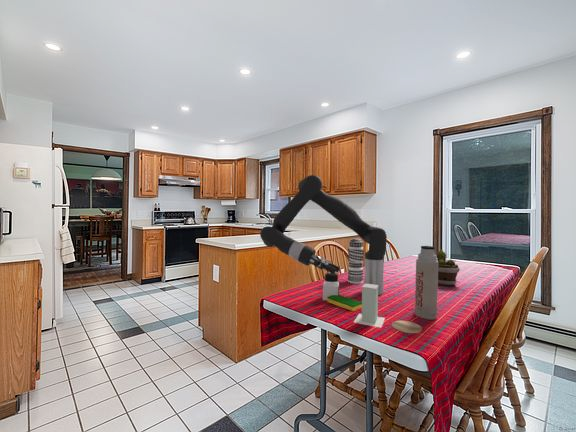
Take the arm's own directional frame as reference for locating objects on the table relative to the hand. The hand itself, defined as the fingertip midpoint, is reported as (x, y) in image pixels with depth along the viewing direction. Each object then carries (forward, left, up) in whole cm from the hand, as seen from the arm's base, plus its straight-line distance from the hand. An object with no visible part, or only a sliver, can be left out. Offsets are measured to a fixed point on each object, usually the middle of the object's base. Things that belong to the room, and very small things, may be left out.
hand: (337, 270), depth 113 cm
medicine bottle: (-18, -8, -18) cm, 27 cm away
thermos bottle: (-16, +32, -18) cm, 40 cm away
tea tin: (0, +13, -17) cm, 22 cm away
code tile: (0, +13, -18) cm, 22 cm away
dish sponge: (-12, 0, -18) cm, 21 cm away
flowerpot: (-74, +41, -18) cm, 87 cm away
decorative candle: (-54, -5, -18) cm, 57 cm away
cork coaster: (0, +26, -18) cm, 31 cm away
